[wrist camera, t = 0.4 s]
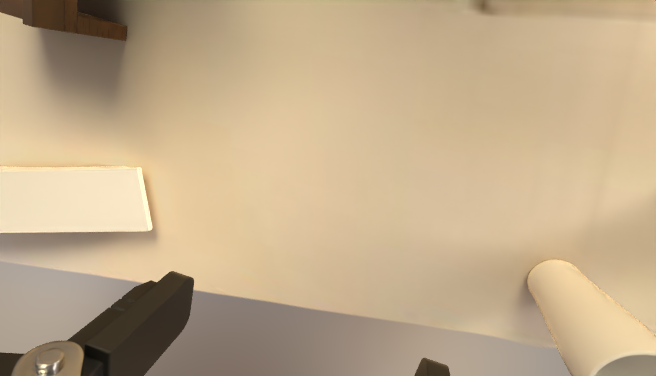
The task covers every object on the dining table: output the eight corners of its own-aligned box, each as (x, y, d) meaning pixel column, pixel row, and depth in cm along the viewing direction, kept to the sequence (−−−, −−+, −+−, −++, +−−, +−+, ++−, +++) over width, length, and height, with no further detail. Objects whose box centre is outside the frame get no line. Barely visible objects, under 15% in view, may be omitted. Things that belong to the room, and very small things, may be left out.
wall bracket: (167, 158, 50) (-17, 162, 52) (136, 155, 43) (-77, 160, 44) (170, 227, 50) (-13, 229, 52) (139, 236, 43) (-72, 238, 45)
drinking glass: (562, 314, 40) (653, 442, 26) (506, 289, 40) (565, 401, 26) (600, 267, 38) (721, 379, 23) (540, 241, 38) (623, 335, 24)
